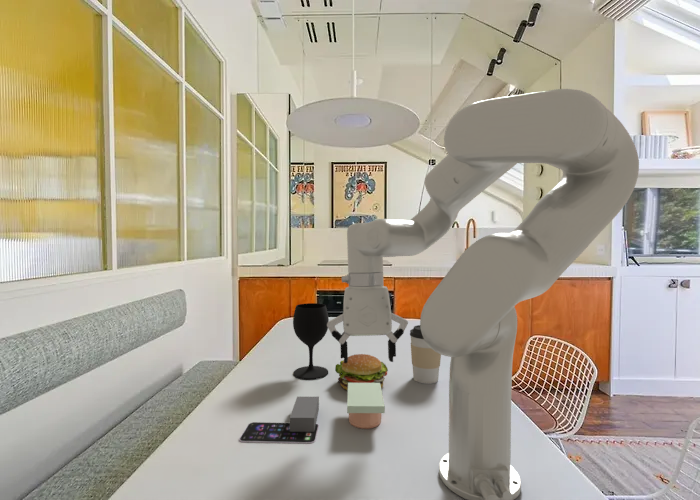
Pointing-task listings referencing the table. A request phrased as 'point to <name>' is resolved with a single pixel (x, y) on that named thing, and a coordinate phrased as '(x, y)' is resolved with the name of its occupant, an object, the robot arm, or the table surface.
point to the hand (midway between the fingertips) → (368, 360)
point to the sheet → (365, 398)
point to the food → (361, 370)
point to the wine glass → (310, 335)
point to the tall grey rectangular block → (304, 414)
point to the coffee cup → (423, 358)
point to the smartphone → (276, 433)
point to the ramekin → (365, 420)
